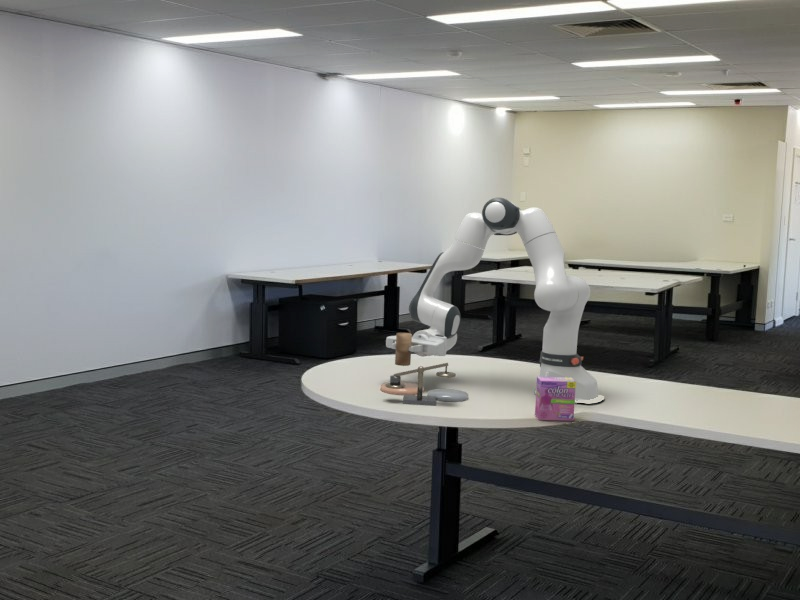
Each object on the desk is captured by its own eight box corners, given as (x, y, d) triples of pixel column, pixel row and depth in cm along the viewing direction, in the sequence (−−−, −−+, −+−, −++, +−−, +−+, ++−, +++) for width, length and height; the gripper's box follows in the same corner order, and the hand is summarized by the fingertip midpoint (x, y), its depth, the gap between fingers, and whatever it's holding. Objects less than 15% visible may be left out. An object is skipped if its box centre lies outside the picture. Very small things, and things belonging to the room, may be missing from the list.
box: (538, 420, 241) (540, 380, 240) (534, 415, 246) (536, 376, 245) (574, 421, 241) (576, 381, 240) (569, 416, 247) (572, 377, 246)
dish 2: (475, 396, 268) (475, 393, 267) (455, 403, 257) (455, 400, 257) (440, 390, 275) (440, 387, 275) (419, 397, 264) (419, 393, 264)
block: (413, 364, 273) (414, 334, 272) (404, 366, 269) (406, 335, 267) (400, 362, 275) (402, 332, 274) (391, 364, 271) (393, 333, 270)
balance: (454, 401, 260) (456, 361, 259) (454, 406, 253) (456, 365, 252) (385, 397, 261) (387, 357, 260) (384, 402, 254) (385, 361, 253)
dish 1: (431, 390, 275) (431, 386, 275) (408, 397, 263) (408, 393, 263) (396, 383, 282) (396, 380, 282) (372, 390, 271) (372, 386, 271)
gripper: (399, 329, 287) (376, 334, 276) (451, 337, 276) (429, 342, 265) (398, 348, 288) (375, 352, 277) (450, 356, 277) (427, 361, 266)
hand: (402, 347), depth 271 cm, fingers closed on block, 5 cm apart
